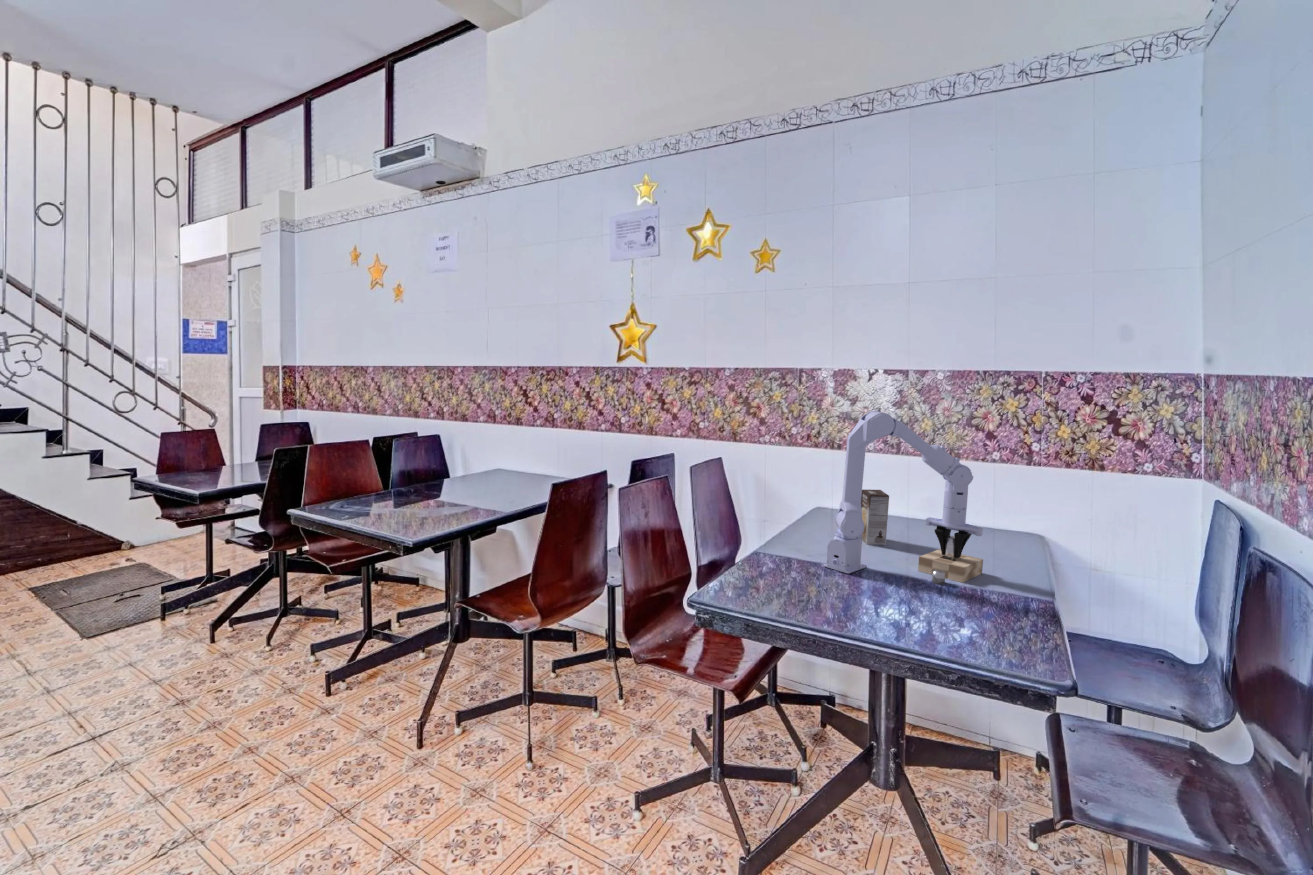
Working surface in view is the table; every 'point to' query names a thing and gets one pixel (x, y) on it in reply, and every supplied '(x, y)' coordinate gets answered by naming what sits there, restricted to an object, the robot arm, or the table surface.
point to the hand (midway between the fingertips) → (951, 555)
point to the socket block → (951, 566)
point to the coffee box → (874, 516)
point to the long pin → (950, 548)
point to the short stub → (938, 577)
